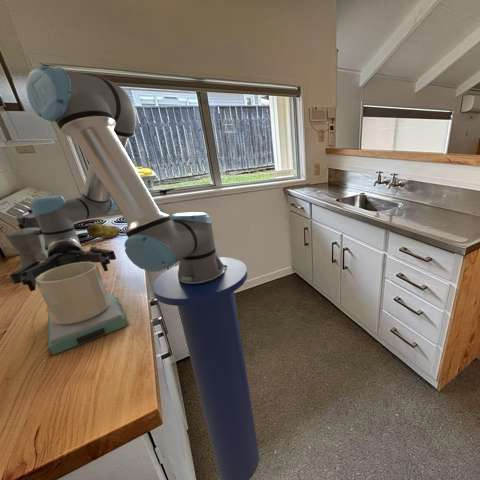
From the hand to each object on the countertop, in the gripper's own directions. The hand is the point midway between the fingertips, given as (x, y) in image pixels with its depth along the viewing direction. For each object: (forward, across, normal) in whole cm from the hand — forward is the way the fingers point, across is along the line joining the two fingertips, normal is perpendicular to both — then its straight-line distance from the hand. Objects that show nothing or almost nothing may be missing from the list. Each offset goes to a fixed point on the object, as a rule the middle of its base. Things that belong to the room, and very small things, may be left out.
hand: (70, 275), depth 64 cm
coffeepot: (-57, +9, -14) cm, 59 cm away
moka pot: (-75, +8, -14) cm, 77 cm away
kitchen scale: (0, 0, -14) cm, 14 cm away
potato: (-83, -14, -14) cm, 85 cm away
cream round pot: (0, 0, -11) cm, 11 cm away
